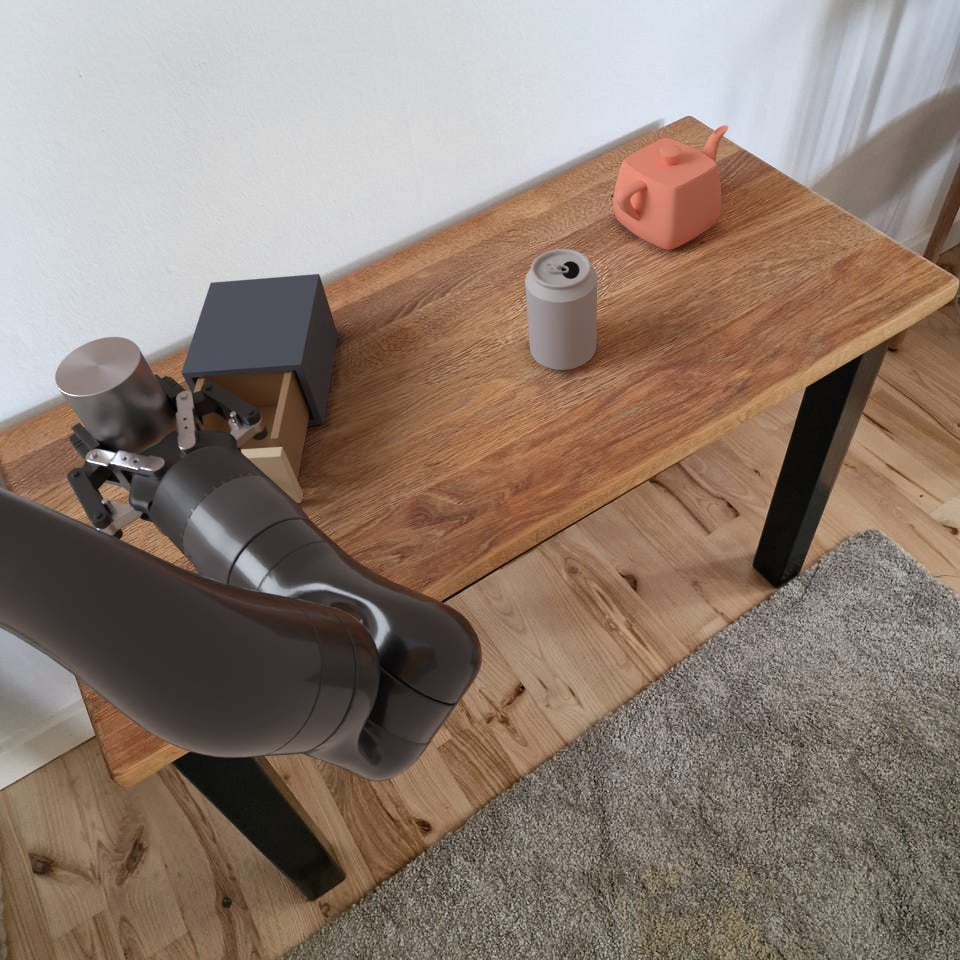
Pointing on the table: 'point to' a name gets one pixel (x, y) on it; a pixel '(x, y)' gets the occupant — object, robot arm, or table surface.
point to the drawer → (270, 422)
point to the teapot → (669, 191)
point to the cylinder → (116, 395)
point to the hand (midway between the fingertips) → (119, 408)
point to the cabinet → (267, 334)
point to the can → (562, 309)
